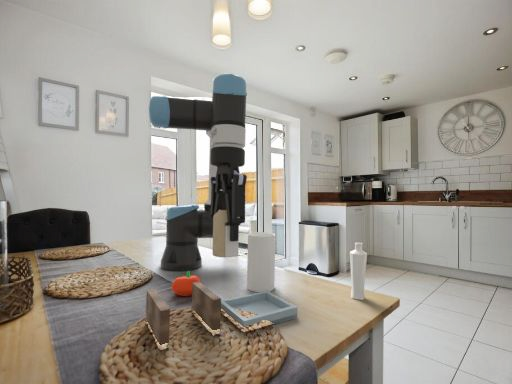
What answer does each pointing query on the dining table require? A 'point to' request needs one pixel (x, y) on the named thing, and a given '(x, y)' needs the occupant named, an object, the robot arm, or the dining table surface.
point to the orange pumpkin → (184, 284)
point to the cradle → (202, 304)
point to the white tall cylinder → (261, 261)
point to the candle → (219, 233)
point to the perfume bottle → (358, 271)
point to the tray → (259, 308)
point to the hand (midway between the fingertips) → (225, 253)
